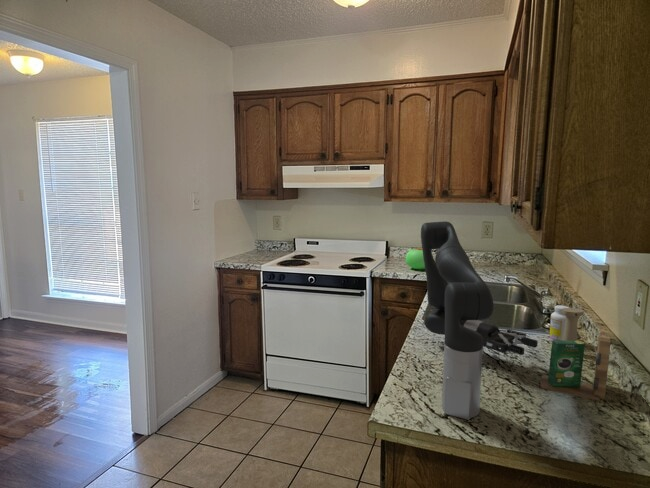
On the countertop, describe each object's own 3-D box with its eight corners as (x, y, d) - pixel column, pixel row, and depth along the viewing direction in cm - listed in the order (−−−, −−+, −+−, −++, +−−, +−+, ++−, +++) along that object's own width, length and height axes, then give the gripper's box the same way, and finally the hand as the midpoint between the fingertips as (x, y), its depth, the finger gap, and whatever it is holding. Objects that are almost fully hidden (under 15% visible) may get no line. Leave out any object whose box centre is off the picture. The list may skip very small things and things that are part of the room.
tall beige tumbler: (555, 349, 143) (559, 307, 141) (574, 349, 143) (578, 308, 140) (562, 355, 138) (566, 312, 136) (582, 355, 138) (586, 312, 136)
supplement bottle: (566, 338, 153) (569, 305, 151) (572, 345, 147) (575, 310, 145) (546, 336, 155) (549, 303, 153) (551, 343, 148) (554, 309, 146)
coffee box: (575, 382, 119) (579, 339, 117) (581, 387, 116) (585, 343, 114) (547, 382, 119) (550, 339, 117) (552, 387, 116) (556, 343, 114)
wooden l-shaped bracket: (605, 402, 109) (611, 344, 107) (540, 388, 117) (544, 334, 114) (602, 383, 119) (607, 330, 117) (542, 371, 127) (546, 321, 124)
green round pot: (403, 270, 269) (404, 248, 267) (407, 265, 285) (407, 244, 282) (432, 272, 263) (433, 249, 261) (434, 267, 279) (434, 245, 277)
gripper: (469, 326, 131) (520, 342, 118) (492, 317, 140) (542, 330, 127) (468, 349, 132) (518, 366, 120) (491, 338, 141) (540, 353, 129)
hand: (530, 347), depth 124 cm, fingers open, 8 cm apart
